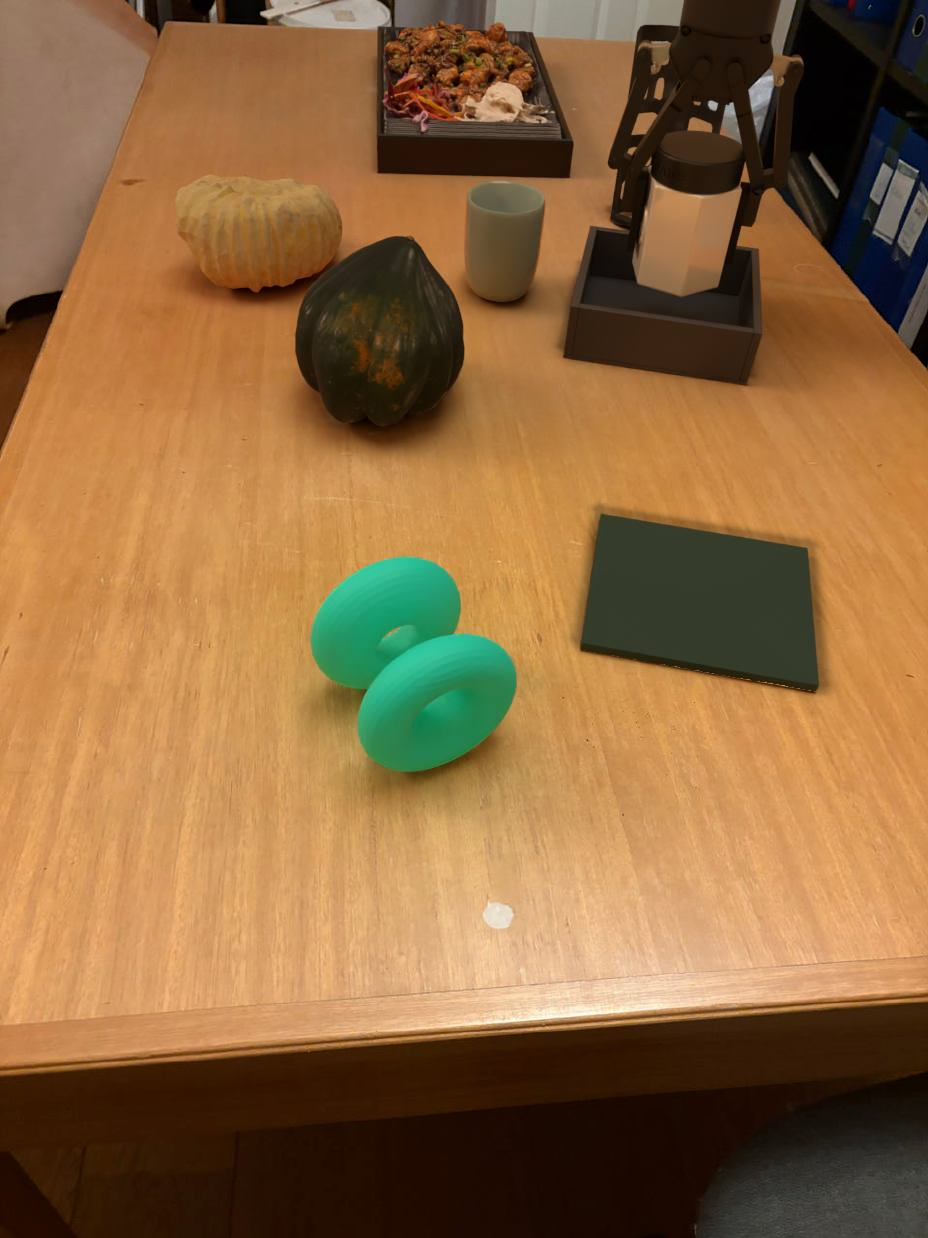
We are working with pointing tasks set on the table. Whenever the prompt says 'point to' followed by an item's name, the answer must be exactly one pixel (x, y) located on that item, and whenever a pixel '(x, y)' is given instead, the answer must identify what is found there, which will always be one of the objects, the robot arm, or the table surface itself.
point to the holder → (656, 105)
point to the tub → (664, 316)
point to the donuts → (412, 664)
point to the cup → (503, 238)
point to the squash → (380, 334)
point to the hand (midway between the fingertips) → (679, 251)
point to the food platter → (467, 104)
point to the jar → (688, 212)
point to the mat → (702, 602)
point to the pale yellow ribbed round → (257, 229)
